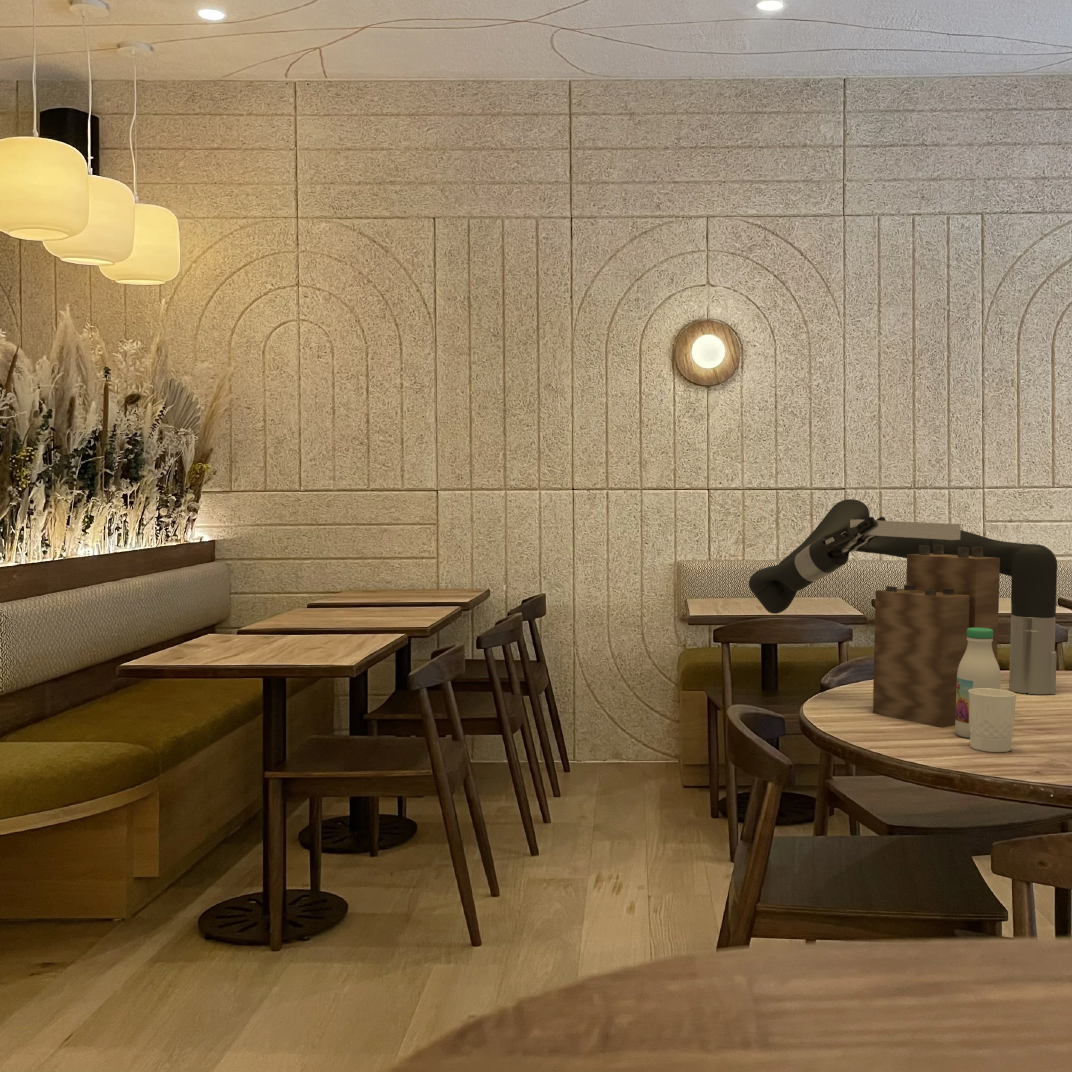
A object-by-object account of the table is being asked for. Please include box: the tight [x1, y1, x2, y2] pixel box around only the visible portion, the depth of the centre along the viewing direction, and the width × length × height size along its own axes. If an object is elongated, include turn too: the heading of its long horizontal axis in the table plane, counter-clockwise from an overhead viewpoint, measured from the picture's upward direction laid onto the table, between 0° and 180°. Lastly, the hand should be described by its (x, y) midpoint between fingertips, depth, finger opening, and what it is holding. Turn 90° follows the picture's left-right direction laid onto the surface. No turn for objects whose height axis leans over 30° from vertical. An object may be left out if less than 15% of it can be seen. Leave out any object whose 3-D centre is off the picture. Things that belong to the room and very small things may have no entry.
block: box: [850, 519, 962, 540], centre depth 230 cm, size 24×3×3 cm, turn 36°
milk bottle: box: [954, 628, 1002, 739], centre depth 211 cm, size 8×8×20 cm
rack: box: [872, 545, 1000, 728], centre depth 230 cm, size 16×18×34 cm
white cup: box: [968, 688, 1017, 753], centre depth 202 cm, size 8×8×10 cm
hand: (879, 520), depth 235 cm, fingers closed on block, 3 cm apart
